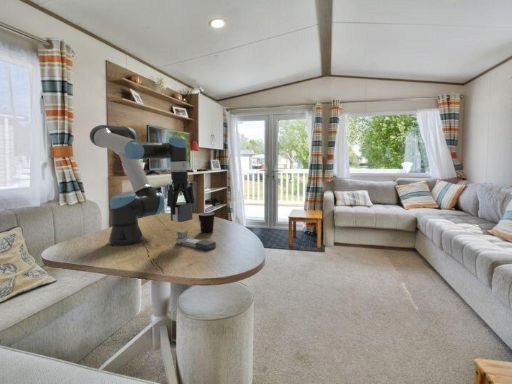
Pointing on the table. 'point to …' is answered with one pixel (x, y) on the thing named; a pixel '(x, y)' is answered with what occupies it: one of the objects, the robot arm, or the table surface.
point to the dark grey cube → (183, 211)
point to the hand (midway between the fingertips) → (182, 219)
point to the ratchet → (194, 241)
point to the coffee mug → (206, 222)
